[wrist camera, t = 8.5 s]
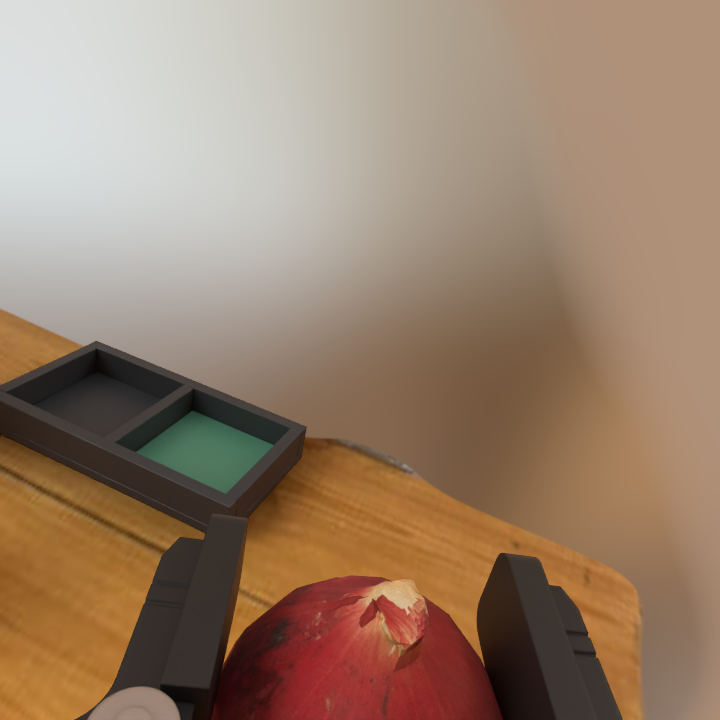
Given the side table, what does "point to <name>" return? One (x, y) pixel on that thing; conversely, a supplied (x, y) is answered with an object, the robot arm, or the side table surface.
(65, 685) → the side table surface
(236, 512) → the tray
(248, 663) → the onion
